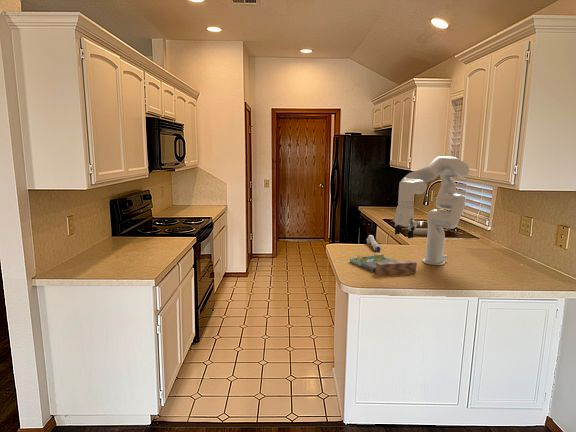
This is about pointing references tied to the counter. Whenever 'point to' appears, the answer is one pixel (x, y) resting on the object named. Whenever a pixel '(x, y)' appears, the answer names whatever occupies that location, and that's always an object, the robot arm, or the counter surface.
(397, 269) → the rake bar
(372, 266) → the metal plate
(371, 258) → the teal tray
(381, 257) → the brass block
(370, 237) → the white long cylinder
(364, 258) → the brass block
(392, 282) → the counter surface
